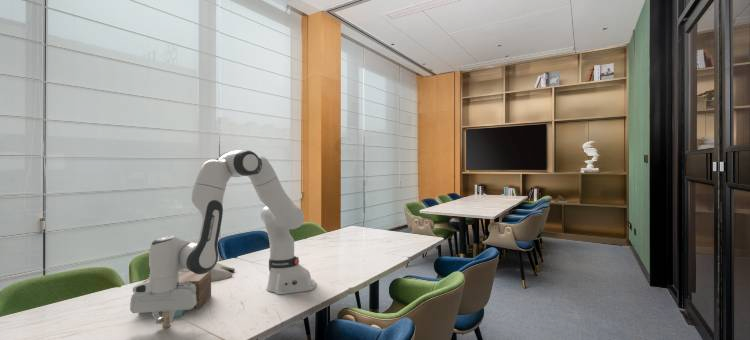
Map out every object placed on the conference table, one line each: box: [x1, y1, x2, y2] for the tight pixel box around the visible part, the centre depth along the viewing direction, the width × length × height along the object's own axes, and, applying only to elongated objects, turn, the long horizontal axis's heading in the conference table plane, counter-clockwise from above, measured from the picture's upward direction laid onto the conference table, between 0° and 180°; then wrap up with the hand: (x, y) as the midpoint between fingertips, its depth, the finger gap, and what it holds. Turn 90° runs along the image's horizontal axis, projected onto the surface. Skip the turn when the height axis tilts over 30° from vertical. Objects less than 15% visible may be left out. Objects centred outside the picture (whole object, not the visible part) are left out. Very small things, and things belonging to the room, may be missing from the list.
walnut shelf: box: [145, 271, 212, 310], centre depth 137 cm, size 22×14×11 cm, turn 99°
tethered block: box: [162, 310, 186, 329], centre depth 123 cm, size 6×14×6 cm, turn 17°
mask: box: [179, 262, 236, 283], centre depth 172 cm, size 20×9×30 cm
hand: (164, 322), depth 116 cm, fingers closed on tethered block, 2 cm apart
